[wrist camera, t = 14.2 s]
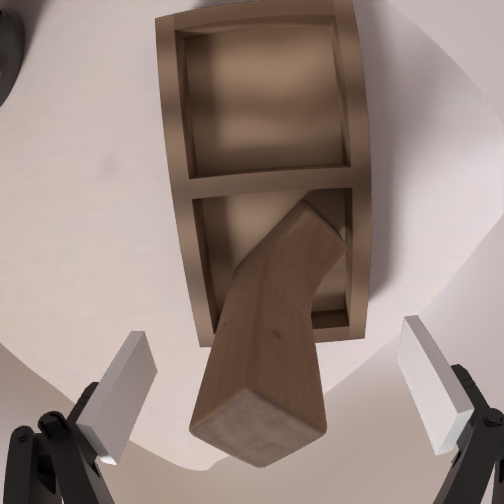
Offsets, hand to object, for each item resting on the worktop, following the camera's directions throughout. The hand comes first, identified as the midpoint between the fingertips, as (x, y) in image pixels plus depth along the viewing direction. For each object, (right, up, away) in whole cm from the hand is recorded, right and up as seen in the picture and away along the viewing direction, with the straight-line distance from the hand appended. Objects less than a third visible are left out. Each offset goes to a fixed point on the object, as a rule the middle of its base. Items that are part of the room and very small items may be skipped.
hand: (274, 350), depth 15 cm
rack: (+1, +11, +12) cm, 17 cm away
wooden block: (+2, +5, +13) cm, 14 cm away
